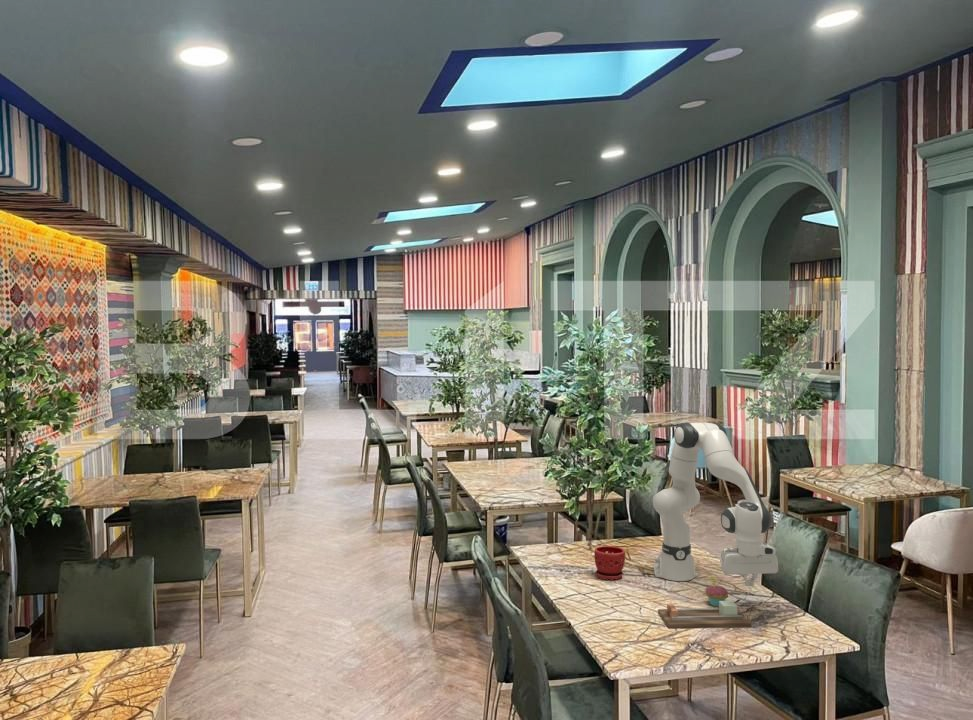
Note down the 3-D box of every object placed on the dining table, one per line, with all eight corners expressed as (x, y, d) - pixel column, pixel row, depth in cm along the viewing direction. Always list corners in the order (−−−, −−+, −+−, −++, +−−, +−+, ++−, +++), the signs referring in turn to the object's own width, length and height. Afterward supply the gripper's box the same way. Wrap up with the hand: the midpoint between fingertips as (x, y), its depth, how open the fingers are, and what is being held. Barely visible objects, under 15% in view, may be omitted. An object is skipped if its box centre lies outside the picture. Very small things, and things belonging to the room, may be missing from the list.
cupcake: (713, 609, 272) (713, 578, 271) (700, 601, 280) (700, 571, 280) (732, 607, 274) (732, 576, 274) (719, 599, 282) (720, 569, 282)
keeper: (718, 613, 264) (719, 601, 264) (732, 612, 265) (732, 600, 264) (723, 618, 259) (723, 606, 259) (737, 618, 260) (737, 605, 259)
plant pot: (627, 581, 304) (627, 553, 303) (596, 581, 304) (596, 553, 303) (622, 571, 317) (622, 544, 316) (592, 571, 317) (592, 544, 317)
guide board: (658, 613, 268) (658, 600, 268) (737, 612, 269) (737, 598, 269) (668, 628, 255) (668, 614, 254) (751, 627, 255) (751, 613, 255)
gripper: (724, 551, 258) (724, 589, 258) (780, 549, 258) (780, 587, 259) (718, 546, 264) (718, 583, 264) (772, 544, 265) (773, 581, 265)
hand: (749, 585), depth 262 cm, fingers closed
